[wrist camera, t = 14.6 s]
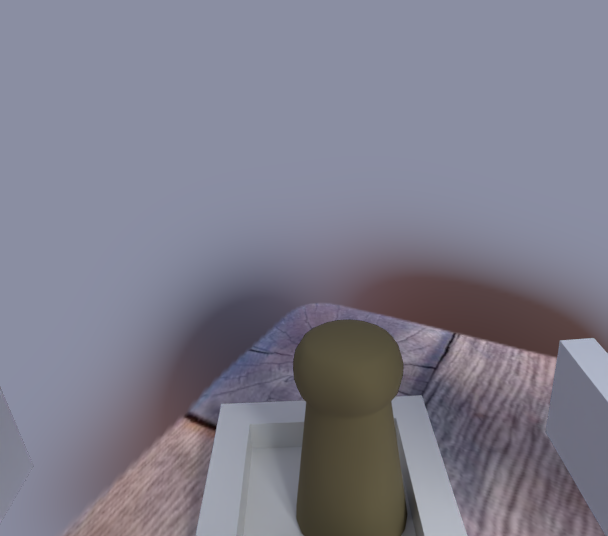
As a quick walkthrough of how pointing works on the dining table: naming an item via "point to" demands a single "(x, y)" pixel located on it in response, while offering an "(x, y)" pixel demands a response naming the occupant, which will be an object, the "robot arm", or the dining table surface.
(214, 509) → the well block
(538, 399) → the dining table surface
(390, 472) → the olive pawn
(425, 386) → the dining table surface
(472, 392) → the dining table surface
